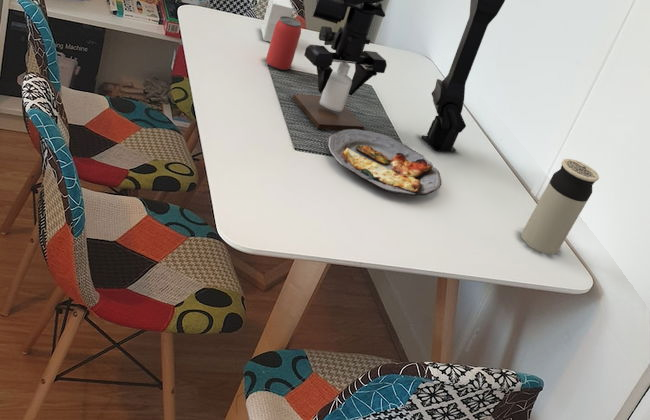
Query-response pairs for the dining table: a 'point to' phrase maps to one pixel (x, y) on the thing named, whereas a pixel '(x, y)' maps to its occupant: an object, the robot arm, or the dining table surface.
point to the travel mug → (559, 206)
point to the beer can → (284, 43)
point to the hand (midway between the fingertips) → (335, 93)
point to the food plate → (385, 162)
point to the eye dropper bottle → (337, 89)
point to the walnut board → (326, 114)
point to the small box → (274, 16)
